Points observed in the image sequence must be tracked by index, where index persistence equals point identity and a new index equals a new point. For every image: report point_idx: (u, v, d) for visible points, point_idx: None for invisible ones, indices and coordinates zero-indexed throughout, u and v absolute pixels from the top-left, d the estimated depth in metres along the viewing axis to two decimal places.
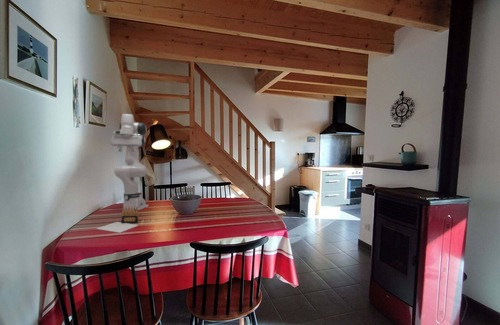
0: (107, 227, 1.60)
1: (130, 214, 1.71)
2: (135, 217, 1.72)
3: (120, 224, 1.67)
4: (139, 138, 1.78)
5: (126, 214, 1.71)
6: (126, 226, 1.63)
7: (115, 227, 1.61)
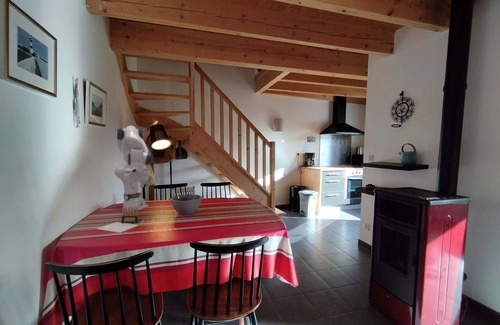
0: (107, 227, 1.60)
1: (130, 214, 1.71)
2: (135, 217, 1.72)
3: (120, 224, 1.67)
4: (147, 173, 1.84)
5: (126, 214, 1.70)
6: (126, 226, 1.63)
7: (115, 227, 1.61)
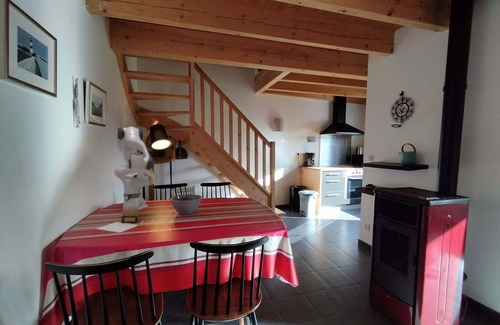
0: (107, 227, 1.60)
1: (130, 214, 1.71)
2: (135, 217, 1.72)
3: (120, 224, 1.67)
4: (148, 179, 1.85)
5: (126, 214, 1.70)
6: (126, 226, 1.63)
7: (115, 227, 1.61)
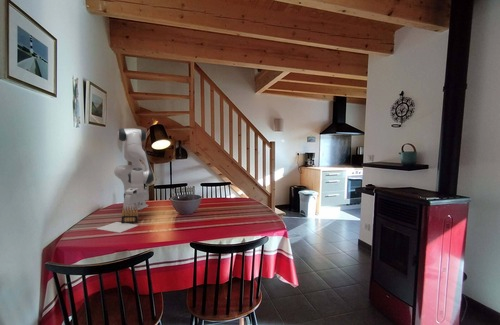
0: (107, 227, 1.60)
1: (130, 214, 1.71)
2: (135, 217, 1.72)
3: (120, 224, 1.67)
4: (147, 193, 1.85)
5: (126, 214, 1.70)
6: (126, 226, 1.63)
7: (115, 227, 1.61)
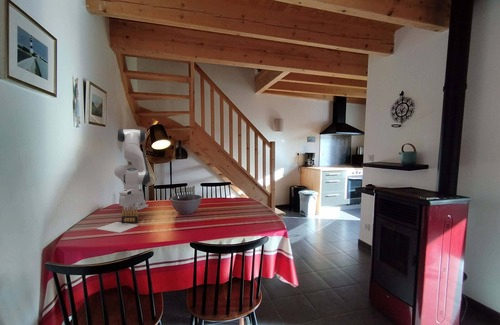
0: (107, 227, 1.60)
1: (130, 214, 1.70)
2: (135, 217, 1.71)
3: (120, 224, 1.67)
4: (142, 194, 1.80)
5: (126, 214, 1.70)
6: (126, 226, 1.63)
7: (115, 227, 1.61)
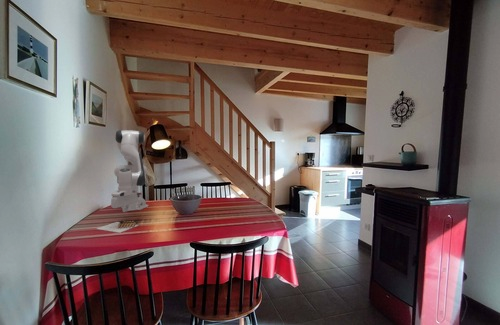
0: (107, 227, 1.60)
1: None
2: None
3: None
4: (136, 195, 1.74)
5: None
6: None
7: (115, 227, 1.61)
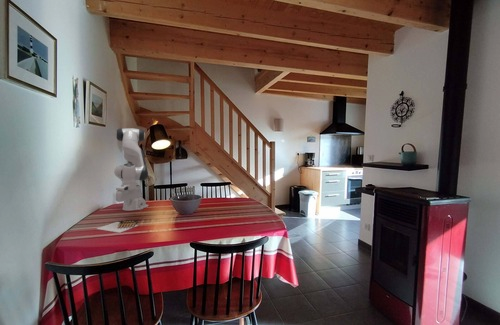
0: (107, 227, 1.60)
1: None
2: None
3: None
4: (140, 190, 1.78)
5: None
6: None
7: (115, 227, 1.61)
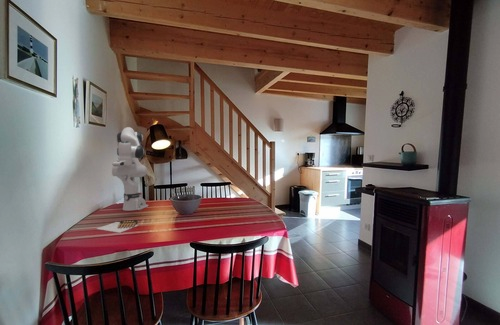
0: (107, 227, 1.60)
1: None
2: None
3: None
4: (135, 167, 1.86)
5: None
6: None
7: (115, 227, 1.61)
